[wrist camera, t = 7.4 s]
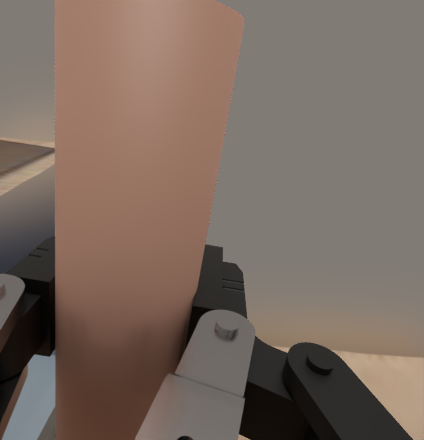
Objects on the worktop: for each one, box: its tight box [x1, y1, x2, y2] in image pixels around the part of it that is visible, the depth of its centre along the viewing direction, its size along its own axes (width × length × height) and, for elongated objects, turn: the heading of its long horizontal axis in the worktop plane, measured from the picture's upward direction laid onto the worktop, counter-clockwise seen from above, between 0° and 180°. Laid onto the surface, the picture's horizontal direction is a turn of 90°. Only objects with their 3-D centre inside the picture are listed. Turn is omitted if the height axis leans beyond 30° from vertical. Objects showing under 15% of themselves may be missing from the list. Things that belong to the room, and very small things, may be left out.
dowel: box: [55, 0, 245, 440], centre depth 9 cm, size 3×3×17 cm
